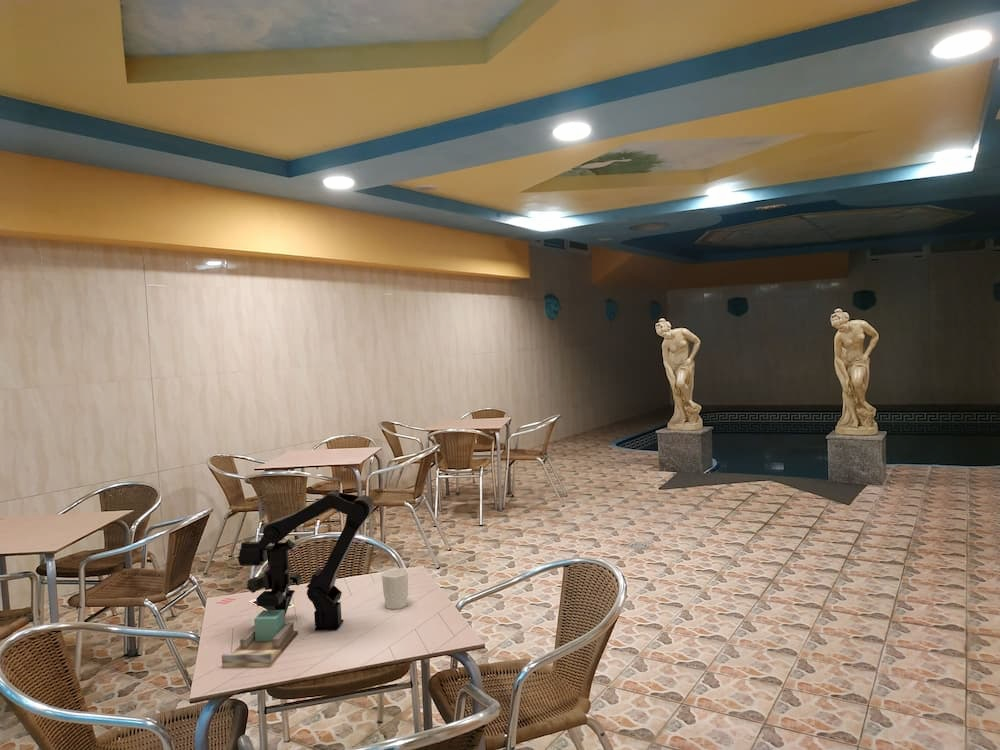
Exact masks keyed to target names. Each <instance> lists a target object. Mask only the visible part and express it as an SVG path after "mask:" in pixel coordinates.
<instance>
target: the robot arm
mask: <svg viewBox="0 0 1000 750" xmlns="http://www.w3.org/2000/svg"><path fill="white" fill-rule="evenodd" d="M331 509H333V510H336V511H337V512H339V513H341V514H344V515H346V518H345V523H344V527H343V529H342V531H341V533H340V535H339V537H338V539H337V540H336V543H335V545H334V546H333V548H332V550H331V552H330V554H329V557H328V558H327V561H326V562H325V565H324V566H323V568H321V567H318V568H317V569H316V570H315V572H313V574H312V576H311V578H310V581H309V583H308V584H307V585H306V586H305V587H306V588H307V591H306V595H307V599H308V600H309V601H310V602H312V604H313V607H314V610H315V611H314V613H313V615H314V626H315V627H314V631H337V630H339V628H340V627H341V626H342V624H343V623H344V619H343V618H342V606H341V604H342V602H341V601H340V599H341V598H342V595H343V594H342V593H343V592H342V591H341V590H340V589H339V588H338V587H337V586H335V584H336V580H337V574H338V571H339V569H340V567H341V565H342V563H343V561H344V559H345V557H346V555H347V552H348V551H349V549H350V547H351V545H352V543H353V541H354V539H355V537H356V536H357V533H358V531H359V529H360V528H361V526H362V525H363V524H364V523H365V522H366V520H367V519H368V518H369V516H370V515H371V514H372V512H374V509H375V503H374V500H373V499H372V498H371V497H370V496H369V495H365V494H364V495H356V494H351V493H344V492H339V491H336V490H332V491H330V492H329V493H328V494H326V495H324V496H323V497H320V498H319V499H317V500H316V501H314V502H312V503H310V504H309V505H307V506H305V507H303V508H301V509H300V510H297V511H296V512H294V513H291V514H287V515H284V516H280V517H278V518H276V519H273V520H272V521H271V522H270V523H268V524H267V525H265V526H264V527H263V531H262V535H263V536H262V537H261V538H260V540H259V541H249V540H246V541H245V540H244V541H243V542H242V543H240V549H239V553H238V557H237V558H238V559H237V560H238V563H239V565H240V567H257V566H258V567H261V566H263V565H264V563H266V562H267V569H266V570H265V571H264V573H262V574H260V575H258V576H254V577H252V578H249V579H248V580H247V583H246V585H247V587H246V590H248V591H250V593H252V594H254V593H256V592H257V591H260V590H262V589H264V591H263V592H261V593H260V594H259V595H258V596H257V597H256V598H257V599H256V598H255V599H256V603H257V606H274V607H275V610H285V616H286V614H287V612H288V610H289V609H288V606H289V604H290V603H291V601H292V598H293V596H294V594H295V592H296V591H295V589H291V588H290V587H291V585H292V584H295V585H296V586H300V585H301V584H302V583H303V579H302V575H301V574H300V573H290V571H291V570H292V569H293V565H292V564H291V565H290V555H289V550H290V551H291V550H293V549H294V548H295V547H296V546H297V545H296V543H294V542H293V541H292V540H291V539H289V538H288V539H287V540H286V541H285V542H283V541H282V540H283V539H285V537H287V536H288V535H289V534H291V533H292V532H293V531H294V530H295V529H296V528H298V527H300V526H301V525H303V524H305V523H307V522H310V520H312V519H314V518H316V517H318V516H319V515H321V514H323V513H325V512H326V511H328V510H331ZM281 541H282V542H281ZM270 544H272V545H270ZM257 606H256V607H257Z"/></svg>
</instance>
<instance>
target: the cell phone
mask: <svg viewBox="0 0 1000 750" xmlns="http://www.w3.org/2000/svg"><path fill="white" fill-rule="evenodd" d="M256 599H257V597H256V598H253V599H251V600H248V603H249V602H250V603H249V604H251V603H252V605H253V604H254V605H253V606H255V605H256V607H257V603H256ZM259 607H260V609H261V608H262V609H261V610H262V611H263V610H275V607H274V606H258V607H257V608H259ZM295 607H296V605H295V604H293V603H291V602H290V604H289V606H288V609H287V610H289V608H290V609H292V608H295Z"/></svg>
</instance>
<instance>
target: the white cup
mask: <svg viewBox="0 0 1000 750" xmlns="http://www.w3.org/2000/svg"><path fill="white" fill-rule="evenodd" d="M381 581H382V591H383V597H384V607H385V608H387V609H390V610H399V609H402V608H405V607H407V606H408V604H409V603H408V602H409V601H408V597H409V571H408V570H407V568H401V567H400V568H391V569H387V570H385V571H383V572H382V573H381Z"/></svg>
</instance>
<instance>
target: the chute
mask: <svg viewBox="0 0 1000 750" xmlns="http://www.w3.org/2000/svg"><path fill="white" fill-rule="evenodd" d="M294 626H295V625H294V622H293V621H289V622H288V621H287V622H286V623H285V626H284V627H283V628H282V629H281V630H280V631H279V632H278V633H277V634H276V636H275V637H274V638H273V639H272V641H256V640H255V625H254V626H253V627H251V629H249V630H248V631H247V632H246V633H245V634H244V635H243V636H242V637H241V638H240V639H239V642H240V643H239V644H240V645H239V646H237V648H235V650H234V651H233V652H232V653H222V655H221V667H222V668H253V667H254V668H256V667H257V668H258V667H259V668H260V667H261V668H262V667H263V668H266V667H268V668H269V667H270V668H271V667H272V666H273V665H274V663H275V662H276V661H277V660H278V658H279V657H281V655H282V654H283V653H284V651H285V650H286V649H287V648H288V647H289V645H290V644H291V643H292V642H293V641H294V639H295V638H296V637H297V636H298V635H299V630H295V629H294Z"/></svg>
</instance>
